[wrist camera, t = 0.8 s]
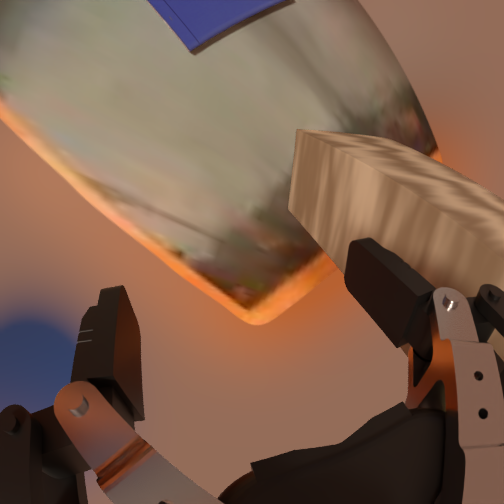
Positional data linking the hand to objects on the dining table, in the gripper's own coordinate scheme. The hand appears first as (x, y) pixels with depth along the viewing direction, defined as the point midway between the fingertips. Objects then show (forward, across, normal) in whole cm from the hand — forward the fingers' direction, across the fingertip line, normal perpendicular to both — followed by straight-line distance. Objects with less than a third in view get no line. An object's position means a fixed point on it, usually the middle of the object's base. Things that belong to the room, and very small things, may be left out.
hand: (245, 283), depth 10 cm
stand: (+23, -19, +4) cm, 30 cm away
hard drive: (+22, -4, -18) cm, 28 cm away
